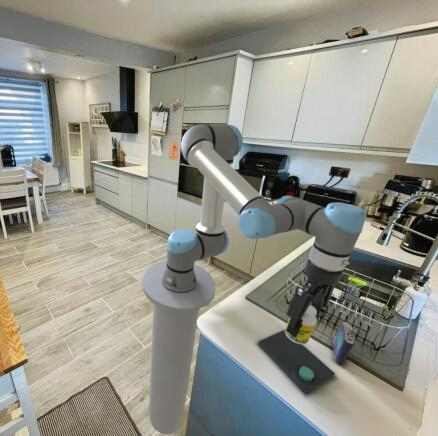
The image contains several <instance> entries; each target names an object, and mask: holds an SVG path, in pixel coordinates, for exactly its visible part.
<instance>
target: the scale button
mask: <svg viewBox="0 0 438 436" xmlns="http://www.w3.org/2000/svg"><path fill="white" fill-rule="evenodd" d="M299 375H300V377H301V378H302V379H303V380H305V381H307V382H310V381H312V379H313V377H314V373H313V372H312V370H311V369H309V368H308V367H305V366H302V367H301V368H300V370H299Z"/></svg>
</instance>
